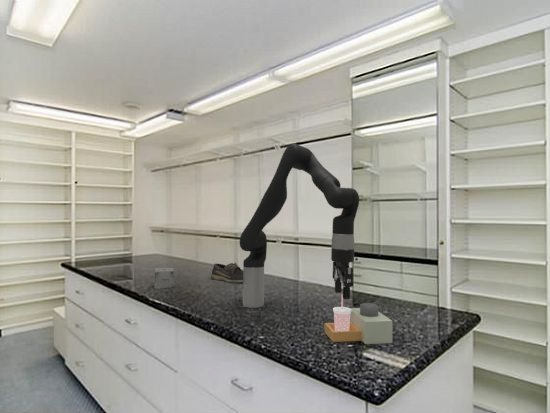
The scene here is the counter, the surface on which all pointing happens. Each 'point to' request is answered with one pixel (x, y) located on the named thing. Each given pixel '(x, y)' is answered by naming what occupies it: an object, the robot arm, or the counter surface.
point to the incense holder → (164, 278)
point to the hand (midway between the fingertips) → (342, 295)
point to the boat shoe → (227, 273)
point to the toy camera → (364, 326)
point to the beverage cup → (342, 317)
